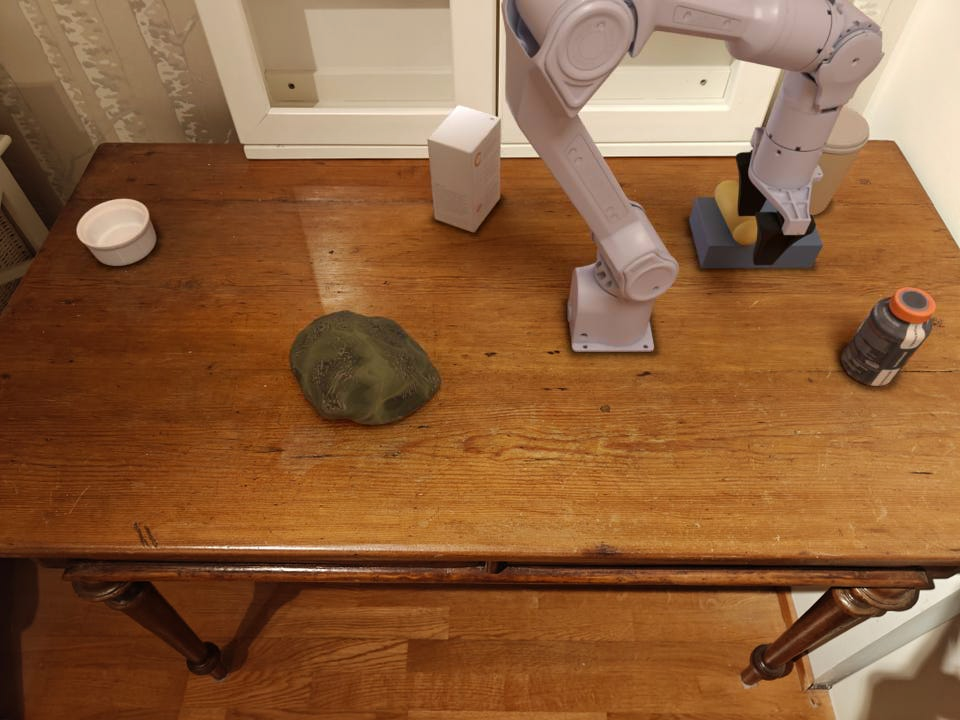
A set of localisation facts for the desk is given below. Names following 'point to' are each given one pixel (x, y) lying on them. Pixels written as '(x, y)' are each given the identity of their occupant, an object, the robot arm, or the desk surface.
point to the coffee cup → (838, 156)
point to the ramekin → (117, 232)
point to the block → (727, 253)
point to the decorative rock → (362, 368)
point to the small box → (465, 167)
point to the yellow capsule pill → (735, 213)
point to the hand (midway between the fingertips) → (754, 237)
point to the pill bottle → (889, 336)
